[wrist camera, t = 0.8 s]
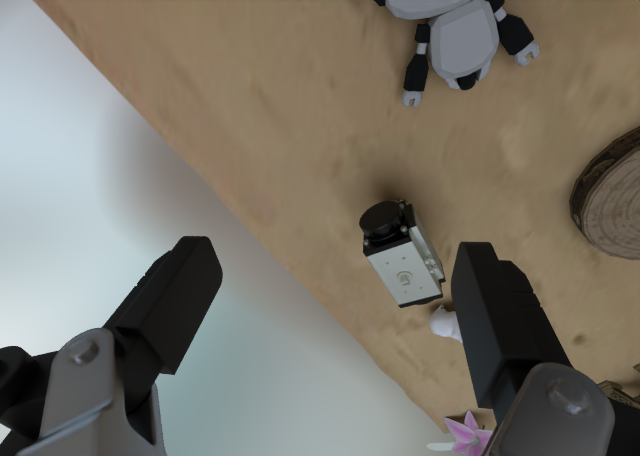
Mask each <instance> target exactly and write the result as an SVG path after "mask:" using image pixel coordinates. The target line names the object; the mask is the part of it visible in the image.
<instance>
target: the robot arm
mask: <svg viewBox="0 0 640 456" xmlns="http://www.w3.org/2000/svg"><path fill="white" fill-rule="evenodd" d="M222 275H223V274H222V268H221V265H220V263H219V260H218V258H217V255H216V253H215V251H214V248H213V246H212V243H211V241H210V239H209V238H208V237H205V236H184V237H182V238H181V239H180V240H179V241H178V243H177V244H176V245H175V247H174V248H173V249H172V250H171V251H168V252H167V253H165V254H164V255H163V256H161V257H160V258H159V259H157V260H156V261H155V262H154V263H153V264H152V266H151V267H150V268H149V269H148V271H147V272H146V273H145V276H143V277H142V278H141V279H140V281H139V282H138V283H137V286H135V287H134V288H133V289H132V291H131V292H130V293H129V295H128V296H127V297H126V298H125V299H124V301H123V302H122V303H121V305H120V306H119V307H118V308H117V309H116V311H115V312H114V313H113V315H112V316H111V317H110V318H109V320H108V321H107V322H106V323H105V325H104V326H103V327H102V328H94V329H90V330H87V331H85V332H83V333H81V334H79V335H77V336H75V337H74V338H72V339H71V340H70V341H68V342H67V343H66V344H65V345H64V346H63V347H62V348H61V349H60V350H59V351H55V352H50V353H46V354H42V355H37V356H33V357H32V356H31V355H29V354H28V353H27V352H26V351H24V350H23V349H22V348H21V347H18V346H8V347H5V348H1V349H0V423H1V424H3V425H4V426H6V427H8V428H10V429H11V431H10V433H9V434H8V435H7V436H6V438H5V439H4V440H3V442H2V443H1V444H0V456H167V454H166V451H165V447H164V440H163V433H162V424H161V415H160V408H159V399H158V390H157V386H156V384H155V380H156V378H157V376H158V375H159V373H162V374H171V375H175V373H176V371H177V369H178V367H179V365H180V363H181V361H182V359H183V357H184V355H185V354H186V352H187V350H188V348H189V346H190V344H191V342H192V340H193V338H194V336H195V334H196V332H197V330H198V328H199V326H200V325H201V323H202V321H203V319H204V317H205V315H206V313H207V311H208V309H209V307H210V305H211V303H212V301H213V299H214V297H215V295H216V294H217V292H218V290H219V288H220V286H221V283H222V277H223V276H222ZM451 294H452V300H453V304H454V308H455V312H456V317H457V321H458V325H459V329H460V333H461V338H462V342H463V346H464V350H465V354H466V359H467V363H468V367H469V371H470V375H471V380H472V384H473V388H474V392H475V396H476V400H477V405H478V408H487V409H493V411H494V415H495V419H496V422H497V425H496V427H495V429H494V431H493V433H492V435H491V437H490V438H489V440H488V442H487V444H486V446H485V448H484V450H483V452H482V454H481V456H640V409H638V408H635V407H633V406H630V405H627V404H624V403H622V402H619V401H617V400H614V399H612V398H610V397H608V396H606V394H605V393H604V392H603V390H602V389H601V388H600V387H599V386H598V385H597V384H596V383H595V382H594V381H593V380H591V379H590V378H589V377H587V376H586V375H584V374H583V373H581V372H580V371H578V370H576V369H574V368H573V366H572V365H571V363H570V361H569V359H568V357H567V355H566V354H565V352H564V350H563V348H562V346H561V344H560V342H559V340H558V338H557V336H556V334H555V332H554V330H553V328H552V326H551V324H550V322H549V320H548V318H547V316H546V314H545V312H544V310H543V308H542V307H540V302H539V300H538V298H537V297H536V295H535V294H534V293H533V289H532V287H531V285H530V283H529V281H528V279H527V277H526V275H525V274H524V273H523V272H522V271H521V270H520V269H519V268H518V267H517V266H516V265H514V264H513V263H512V262H511V261H505V260H498V258H497V255H496V253H495V251H494V249H493V246H492V244H491V243H490V242H461V243H460V244H459V248H458V252H457V256H456V261H455V265H454V269H453V274H452V278H451Z"/></svg>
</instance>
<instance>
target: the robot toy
mask: <svg viewBox="0 0 640 456" xmlns="http://www.w3.org/2000/svg"><path fill="white" fill-rule="evenodd" d="M374 1H375V2H376V3H377V4H378V5H379V6H386V7H387V8H388V9H389V10H390V11H391V12H392V14H393V15H394V16H395V17H399V18H403V19H407V20H416V19H422V18H429V17H431V18H430V20H429V22H428V23H427V24H418V25H417V29H416V34H415V41H416V42H418V47H417V52H416V54H415V55H414V57H413V58H412V60H411V61H410V63H409V65H408V66H407V70H406V75H405V81H404V87H403V88H404V89H405V90H406V91H405V93H404V94H403V96H402V104H403V105H404V106H405V107H409V101H410V99H413V103H412V105H411V106H412V107H416V106H418V105H419V104H420V102H421V99H422V95H421V91H424V88H425V83H426V79H427V74H428V70H429V67H428V62H427V58H426V54H425V51H426V47H427V48H428V58H429V61H430V63H431V65H432V67H433V68H434V70H435V71H436V73H437V74H438V75H439V76H441V77H443V78H444V79H445V81H446V82H447V83H448V85H449V86H450V88H457V89H461V90H468V89H470V88H472V87H473V86H474V85H475V82H476V80H477V81H478V82H479V81H480V80H481V79H482V78H484V77H485V76H486V75H487V74H488V71H489V67H490V63H491V59H492V58H493V56H494V55H495V53H496V51H497V47H498V43H499V41H500V42H501V44H502V45H503V47H504V48H505V49H506V51H507V52H508V54H509V55H514V59H515V63H517V64H518V65H520V66H524V65H528V64H529V63H530V62H529V61H528V60H527V59H526V57H525V56H526V55H527V54H529V53H530V55H531V57H532V58H533V59H535V58H536V57H537V56H538V54H539V51H540V50H539V46H538V43H536V42H533V40H534V37H533V35H532V33H531V32H530V30H529V29H528V27H527V26H526V24H525V23H524V21H523V20H522V18H519V17H516V16H514V15H510V14H507V13H506V12H505V11H504V9H503V8H502V6H503V4H504V2H505V1H504V0H374ZM495 19H496V21H497V25H496V21H495ZM455 78H457V83H458V84H457V83H456V81H455V80H454V79H455Z"/></svg>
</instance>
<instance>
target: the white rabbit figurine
mask: <svg viewBox="0 0 640 456" xmlns="http://www.w3.org/2000/svg"><path fill="white" fill-rule="evenodd" d="M442 304H443V303H442ZM442 304H441V305H442ZM441 305H440V306H439V307H438V309H436V310H435V312H434V313H433V314H432V315H431V316H430V318H429V326H430V329H431V330H432V332H433V333H435V334H437V335H439V336H444V337H453V338H454V339H456V340H459V341H460V342H461V343H462V344H463V342H462V338H461V333H460V329H459V325H458V321H457V317H456V312H455V311H453V312H447V311H446V310H445V309H444V307H443V306H441ZM441 307H443V309H441Z"/></svg>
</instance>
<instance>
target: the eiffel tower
mask: <svg viewBox="0 0 640 456" xmlns="http://www.w3.org/2000/svg"><path fill="white" fill-rule="evenodd" d="M633 368H634V369H636V370H637V371H638V372H640V364H638V365H636V366H634V367H633ZM598 386H599V387H600V388H601V389H602V390H603V392H604V393H605V394H606V395H607V396H609V397H610V398H612V399H614V400H617V401H619V402H622V403H624V404H627V405H630V406H633V407H635V408H638V409H640V396H638V397H635V398H632V397H631V396H629V395H627V394H626V393H624V392H623V391H621V389H622V387H621V386H620V385H618V384H615V383H612V382H609V381H604V382H602V383H600V384H598Z"/></svg>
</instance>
